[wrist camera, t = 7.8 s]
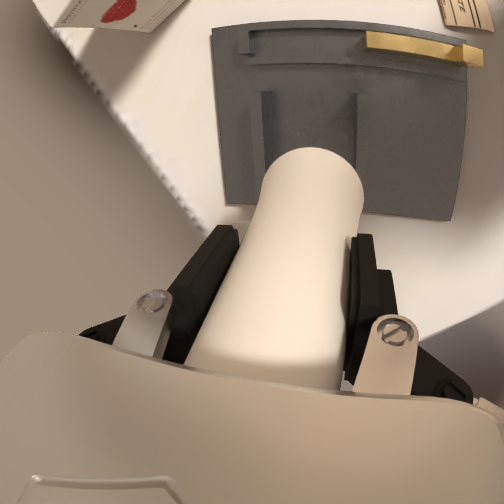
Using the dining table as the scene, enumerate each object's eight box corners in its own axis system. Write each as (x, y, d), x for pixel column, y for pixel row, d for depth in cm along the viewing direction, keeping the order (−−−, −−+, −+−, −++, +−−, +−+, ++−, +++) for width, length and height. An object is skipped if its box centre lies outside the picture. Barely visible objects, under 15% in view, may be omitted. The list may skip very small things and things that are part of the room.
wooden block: (462, 52, 18) (482, 49, 14) (463, 67, 19) (483, 66, 15) (363, 35, 21) (368, 27, 17) (364, 50, 22) (369, 44, 18)
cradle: (462, 41, 18) (482, 36, 14) (448, 217, 29) (461, 239, 25) (215, 29, 25) (194, 23, 21) (229, 200, 35) (214, 218, 31)
